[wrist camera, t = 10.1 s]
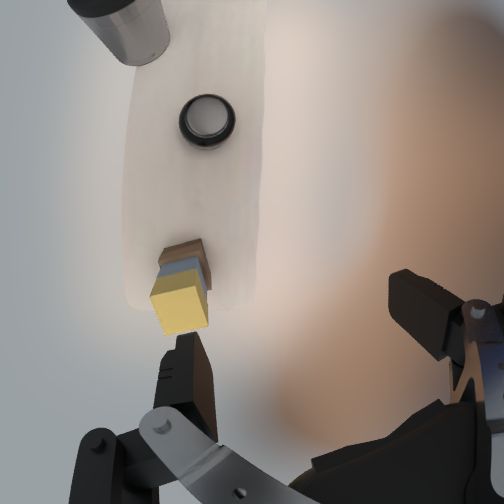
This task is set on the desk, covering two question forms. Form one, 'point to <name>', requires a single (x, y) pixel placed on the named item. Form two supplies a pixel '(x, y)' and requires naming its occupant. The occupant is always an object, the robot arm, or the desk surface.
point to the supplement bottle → (207, 121)
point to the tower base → (186, 252)
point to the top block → (180, 302)
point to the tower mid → (183, 269)
